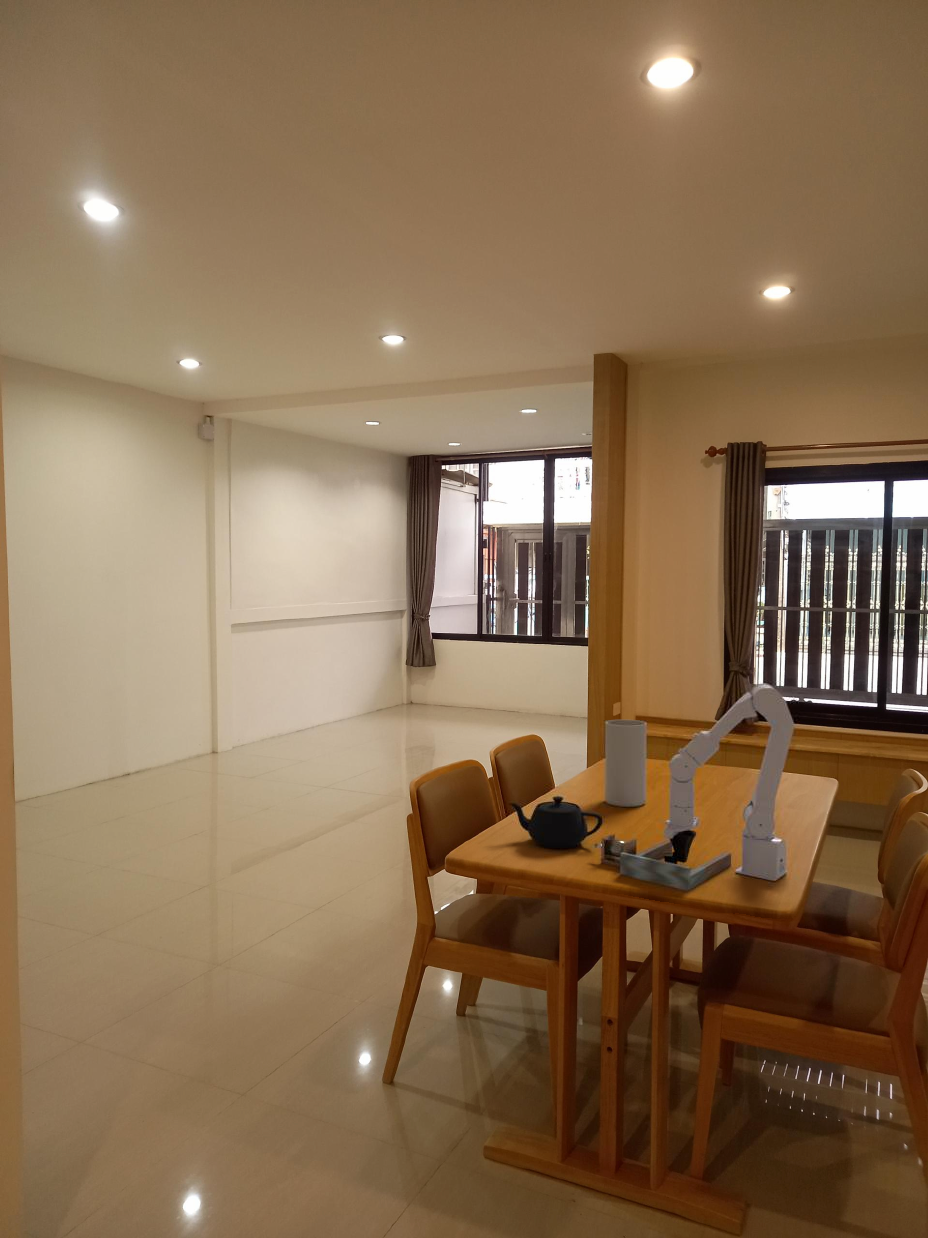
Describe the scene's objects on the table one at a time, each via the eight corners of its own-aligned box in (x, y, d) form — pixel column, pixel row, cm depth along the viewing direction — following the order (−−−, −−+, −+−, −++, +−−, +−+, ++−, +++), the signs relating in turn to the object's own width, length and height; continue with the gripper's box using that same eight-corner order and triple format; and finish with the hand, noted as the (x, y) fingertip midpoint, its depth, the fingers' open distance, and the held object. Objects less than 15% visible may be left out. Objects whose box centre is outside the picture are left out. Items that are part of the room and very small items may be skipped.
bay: (731, 865, 209) (731, 844, 209) (688, 891, 191) (688, 868, 191) (666, 851, 220) (666, 832, 220) (620, 874, 202) (620, 853, 202)
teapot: (606, 838, 231) (606, 793, 231) (598, 856, 216) (598, 807, 216) (515, 831, 238) (514, 787, 238) (501, 847, 224) (501, 800, 223)
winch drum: (636, 863, 210) (636, 839, 210) (626, 868, 206) (626, 844, 206) (603, 856, 216) (603, 832, 216) (592, 861, 212) (592, 836, 212)
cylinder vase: (638, 809, 261) (638, 727, 260) (599, 804, 267) (599, 724, 266) (651, 800, 272) (651, 721, 271) (613, 796, 278) (613, 718, 277)
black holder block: (654, 864, 212) (654, 845, 212) (685, 866, 210) (685, 847, 210) (656, 881, 200) (656, 860, 200) (688, 882, 198) (688, 862, 198)
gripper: (680, 796, 215) (679, 851, 216) (652, 808, 204) (651, 865, 204) (707, 801, 210) (706, 856, 211) (679, 813, 199) (679, 871, 200)
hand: (681, 861), depth 207 cm, fingers closed
